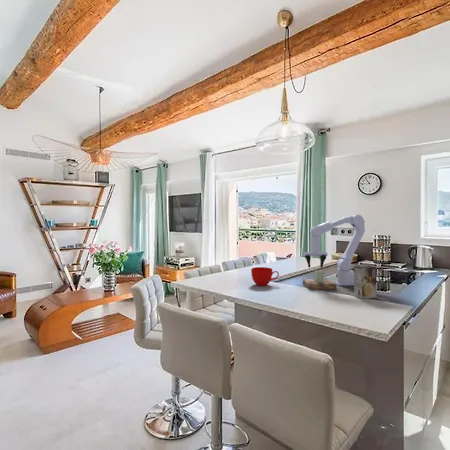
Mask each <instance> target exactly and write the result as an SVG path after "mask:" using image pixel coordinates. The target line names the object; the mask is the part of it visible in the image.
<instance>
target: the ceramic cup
mask: <svg viewBox="0 0 450 450" xmlns="http://www.w3.org/2000/svg"><path fill="white" fill-rule="evenodd" d="M250 271H251V272H250V273H251V279H252V280H253V283H254V284H255V285H256V286H257V285H258V286H259V287H266V285H267V286H268V284H269V283H270V282H271V281H273V280H274V281H275V280H276V279H277V278H278V277H279V275H280V273H279V271H277V270H275V271H273V269H272V268H271V267H264V266H263V267H258V266H257V267H252V268H251V270H250ZM274 273H277V276H274V278H272V277H273V274H274ZM258 286H257V287H258Z"/></svg>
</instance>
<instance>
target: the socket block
mask: <svg viewBox="0 0 450 450" xmlns="http://www.w3.org/2000/svg"><path fill="white" fill-rule="evenodd" d="M302 285H303V286H304V287H305V288H307V289H308V290H337V285H338V284H336V283H335V281H334V282H333V281H332V280H331V279H327V278H326V279H325V278H324V283H316V282H315V278H314V279H312V278H311V279H310V278H309V279H307V278H306V279H302Z"/></svg>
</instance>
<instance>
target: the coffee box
mask: <svg viewBox="0 0 450 450" xmlns="http://www.w3.org/2000/svg"><path fill="white" fill-rule="evenodd" d="M353 272H354V285H353V286H354V287H353V291H354V292H353V293H354V294H353V296H354V297H356V298H358V299H362V300H363V299H375V298H377V266H372V265H357V266H355V265H354V266H353Z"/></svg>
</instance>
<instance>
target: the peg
mask: <svg viewBox="0 0 450 450" xmlns="http://www.w3.org/2000/svg"><path fill="white" fill-rule="evenodd" d="M324 272H325V271H324V270H314V279H315V282H316V283H324V279H325V278H324V277H325V276H324V275H325V273H324Z"/></svg>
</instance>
